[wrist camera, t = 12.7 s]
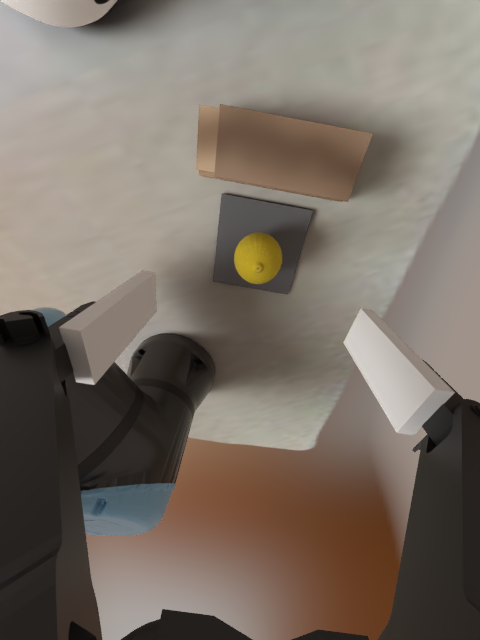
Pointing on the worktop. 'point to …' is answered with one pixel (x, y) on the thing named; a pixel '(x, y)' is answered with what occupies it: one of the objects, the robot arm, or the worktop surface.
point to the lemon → (258, 258)
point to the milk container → (63, 11)
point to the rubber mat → (259, 218)
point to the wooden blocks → (279, 152)
